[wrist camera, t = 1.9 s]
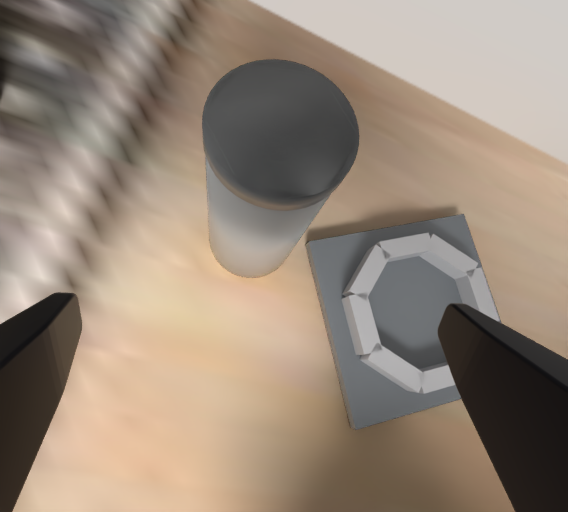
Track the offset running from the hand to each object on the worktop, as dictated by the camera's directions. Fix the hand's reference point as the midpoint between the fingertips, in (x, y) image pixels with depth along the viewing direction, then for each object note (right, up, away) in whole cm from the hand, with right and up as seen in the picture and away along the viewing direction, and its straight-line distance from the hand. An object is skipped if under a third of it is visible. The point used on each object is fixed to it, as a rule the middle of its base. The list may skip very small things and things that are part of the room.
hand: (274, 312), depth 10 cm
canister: (-2, +2, +12) cm, 13 cm away
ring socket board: (+7, -2, +13) cm, 15 cm away
